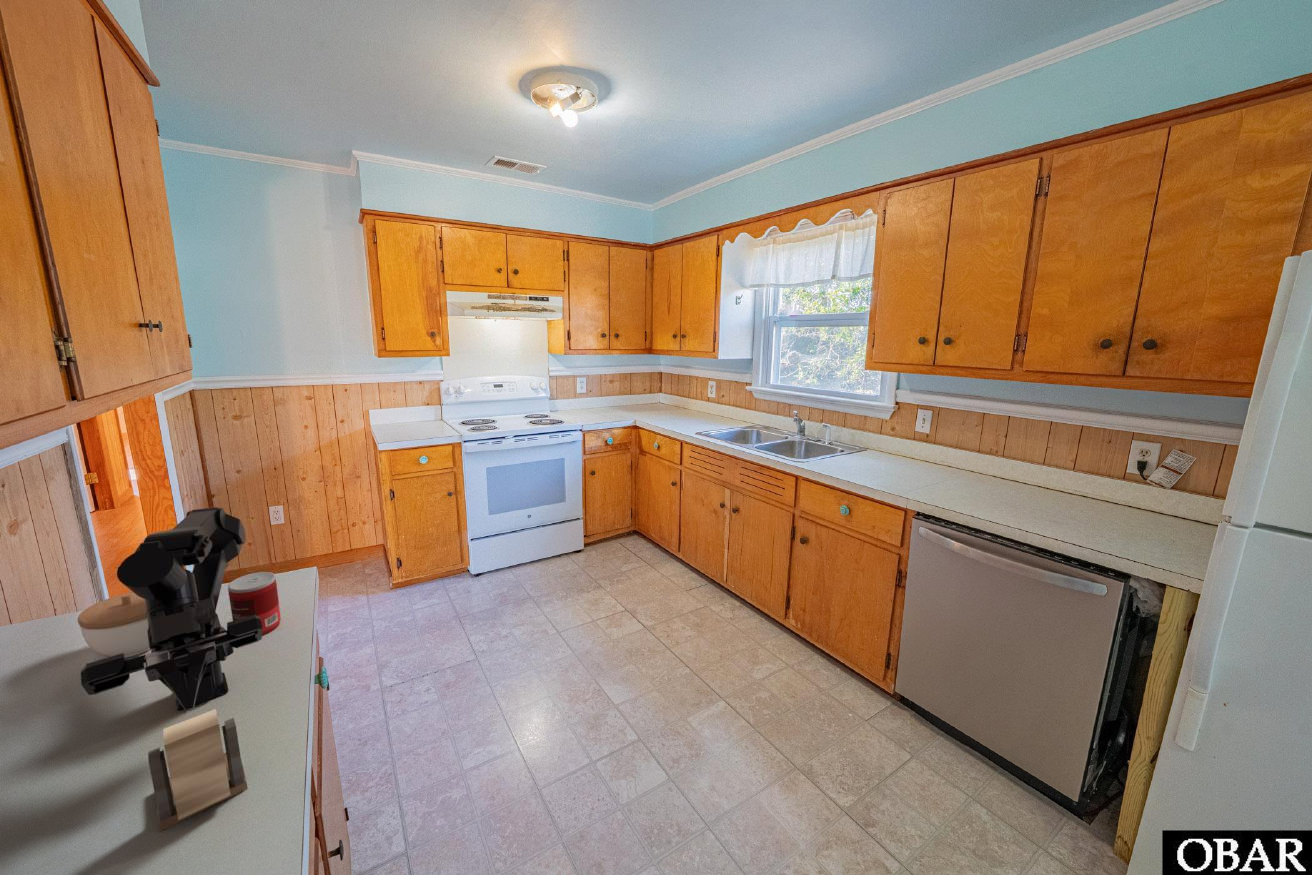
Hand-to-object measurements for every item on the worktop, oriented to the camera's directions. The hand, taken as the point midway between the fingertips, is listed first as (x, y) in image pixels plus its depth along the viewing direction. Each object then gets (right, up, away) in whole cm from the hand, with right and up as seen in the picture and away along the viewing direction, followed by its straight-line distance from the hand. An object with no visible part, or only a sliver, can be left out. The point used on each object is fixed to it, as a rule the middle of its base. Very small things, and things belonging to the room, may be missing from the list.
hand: (189, 709), depth 70 cm
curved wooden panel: (+6, -9, -5) cm, 12 cm away
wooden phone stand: (+4, -10, -2) cm, 11 cm away
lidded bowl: (-36, -3, +27) cm, 45 cm away
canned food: (-18, -2, +34) cm, 39 cm away
